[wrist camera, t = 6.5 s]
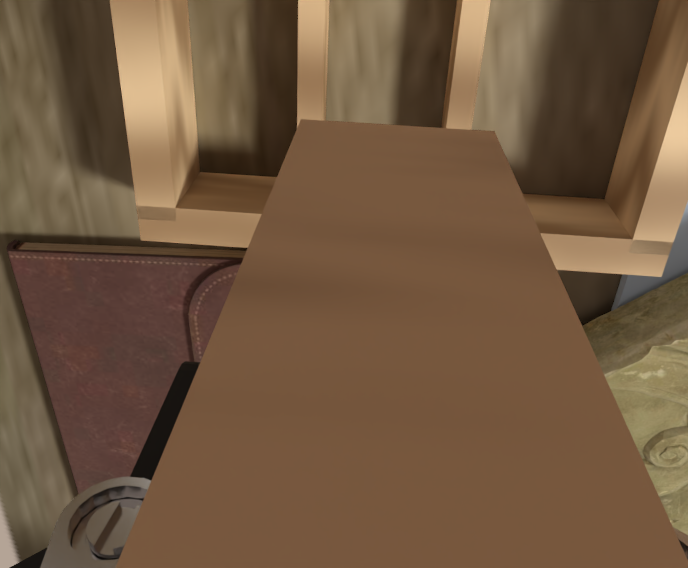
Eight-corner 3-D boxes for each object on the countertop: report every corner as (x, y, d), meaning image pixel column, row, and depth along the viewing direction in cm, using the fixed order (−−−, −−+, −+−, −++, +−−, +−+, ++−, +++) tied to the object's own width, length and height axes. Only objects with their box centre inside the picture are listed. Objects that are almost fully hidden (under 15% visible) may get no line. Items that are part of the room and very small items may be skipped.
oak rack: (630, 233, 30) (661, 276, 27) (168, 201, 31) (140, 240, 27) (798, -314, 20) (881, -356, 17) (113, -343, 21) (58, -390, 17)
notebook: (92, 503, 43) (79, 528, 41) (17, 235, 33) (-4, 254, 31) (318, 515, 42) (315, 542, 40) (313, 246, 32) (309, 266, 30)
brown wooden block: (445, 423, 15) (535, 1271, 6) (297, 411, 15) (147, 1228, 6) (494, 131, 12) (934, 1108, 2) (300, 118, 12) (-63, 1002, 2)
